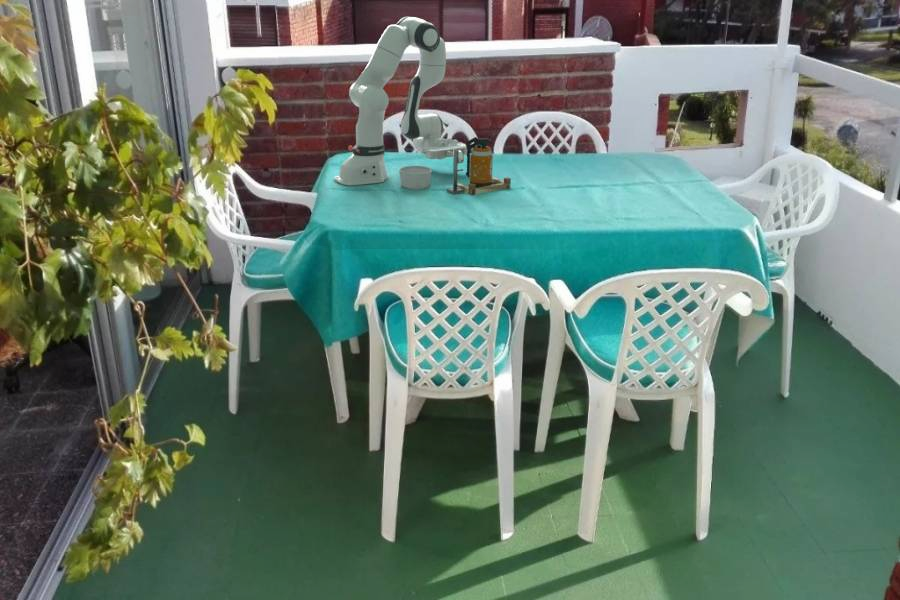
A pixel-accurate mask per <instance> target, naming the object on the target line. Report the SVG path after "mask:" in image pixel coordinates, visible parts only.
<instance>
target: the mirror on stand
mask: <svg viewBox="0 0 900 600" xmlns="http://www.w3.org/2000/svg"><path fill="white" fill-rule="evenodd" d="M452 158H453V164H452V165H453V166H452V167H453V169H452V170H453V172H452V175H453V176H452V177H453V178H452V182H453V183H452V187H448V188H446V191H447V193H449V194H451V193H452V195H457V194H463V193H465V192H464V189H461V188H459V187H457V183H458V172H463V171H464V169H463V168H462V169H458V164H462V163H464V159H465V155H464V154H463V152H462V151H461V150H458V149H454V154H453V157H452ZM446 191H445V192H446Z"/></svg>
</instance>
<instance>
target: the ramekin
mask: <svg viewBox="0 0 900 600" xmlns="http://www.w3.org/2000/svg"><path fill="white" fill-rule="evenodd" d="M432 170H433V169H432V168H431V167H429V166H424V165H407V166H403V167H401V168H399V171H398V174H399V176H400V177H399V178H400V184H401V186H402V187H403V188H404V189H407V190H414V189H415V190H416V191H417V190H423V189H424V188H425V189H427V188H429V187H430V184H431V181H432V180H431V179H432V178H431V177H432Z"/></svg>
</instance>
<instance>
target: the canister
mask: <svg viewBox="0 0 900 600" xmlns="http://www.w3.org/2000/svg"><path fill="white" fill-rule="evenodd" d="M464 144H465V145H466V147H467V155H466V172H465V174H464V175H465V176H466V177H468V178H469V184H475V185H476V188H479V187H484V186H490V185H493V183H492V177H493V165H494V164H493V163H494V162H493V161H494V159H493V158H494V156H493V154H492V148H491V147H490V146H489V144H492V139H489V137H485V138H484V137H481V138H480V137H476V136H474V137H473V138H470V139H469V140H467V141H466V142H465V143H464Z"/></svg>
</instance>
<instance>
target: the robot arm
mask: <svg viewBox="0 0 900 600" xmlns="http://www.w3.org/2000/svg"><path fill="white" fill-rule="evenodd" d="M409 46H411V47H413V48H418V50H419V61H418V62H419V64H418V69H417V71H416V74H415V75H414V76H413V78H411V81H410V84H409V88H408V93H407V99H406V103H405V109H404V113H403V116H402V119H401V122H400V131H401V133H402V135H403V136H404V137H405V138H407V139H409V140H412V145H413V147H414V149H416V151H417V152H419V153H421V154H424V157H426V158H427V159H429V160H430V159H431V160H436V159H437V160H444V159H445V158H453V154H454V149H458V150H461V151H462V152H463V154H464V156H467V147H466V145H465V144H466V143H463V142H461V141H458V140H457V139H453V138H452V139H451V138H450V139H449V138H443V137H442V136H443V132H444V123H443V120H442V118H441V117H440V115H439V114H437V112H427V113H420V114H418V112H419V111H418V110H419V107H420V103H421V102H420V101H421V98H422V96H423V95H424V93H425V92H426V91H428V90H429V89H431V88H433V87H435V86H437V85H439V84H440V83H441V82H442V80H443V79H444V78H445V74H446V65H447V52H446V49H447V48H446V42H445V40H444V39H443V38H442V37H441V36H440V31H439V30H438V27H437V26H435V24H433V23H432V22H428V21H426V20H424V19H422V18H419V17H415V16H412V15H411V16H410V15H408V16H404V17H401V18H400V19H399V21H398V22H397V23H396V24H390V25H388V26H387V27H386V29H385V30H384V31H383V33H382V34H381V37H380V38H379V40H378V42H377V44H376V46H375V48H374V50H373V52H372V55H371V57H370V59H369V60H368V63H367V65H366V67H365V68H364V69H363V71H362V72H361V73H360V75H359V76H358V78H357V79H356V81H355V82H354V83H352V84H351V85H350V88H349V91H348V95H349V98H350V100H351V102H352V103H353V104H354V105H355V106H356V107H358V111H359V113H358V119H357V122H356V124H355V141H356V143H355V145H354V146H353V145H348V150H349V151H350V152H352V154H351V155H350V156H349V157H347V158H346V159H345V160H344V161H343V162H342V163H341V165H340V167H339V173H338V175H335V176H334V177H333V179H334V181H335V182H336V183H338V184H341V185H344V186H350V187H351V186H360V185H369V184H378V183H380V184H381V183H384V182H385V180H387V179H388V173H387V169H386V163H385V144H384V120H385V113H386V110H387V108H388V106H389V101H390V100H389V95H388V93H387V92H386V91H385V90H384V87H385V85H387V83H388V82H389V80H390V79H392V78H393V77H394V76H395V73H396V71H397V69H398V67H399V64H400V62H401V60H402V58H403V56H404V53H405V51H406V49H407V48H409Z"/></svg>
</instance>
